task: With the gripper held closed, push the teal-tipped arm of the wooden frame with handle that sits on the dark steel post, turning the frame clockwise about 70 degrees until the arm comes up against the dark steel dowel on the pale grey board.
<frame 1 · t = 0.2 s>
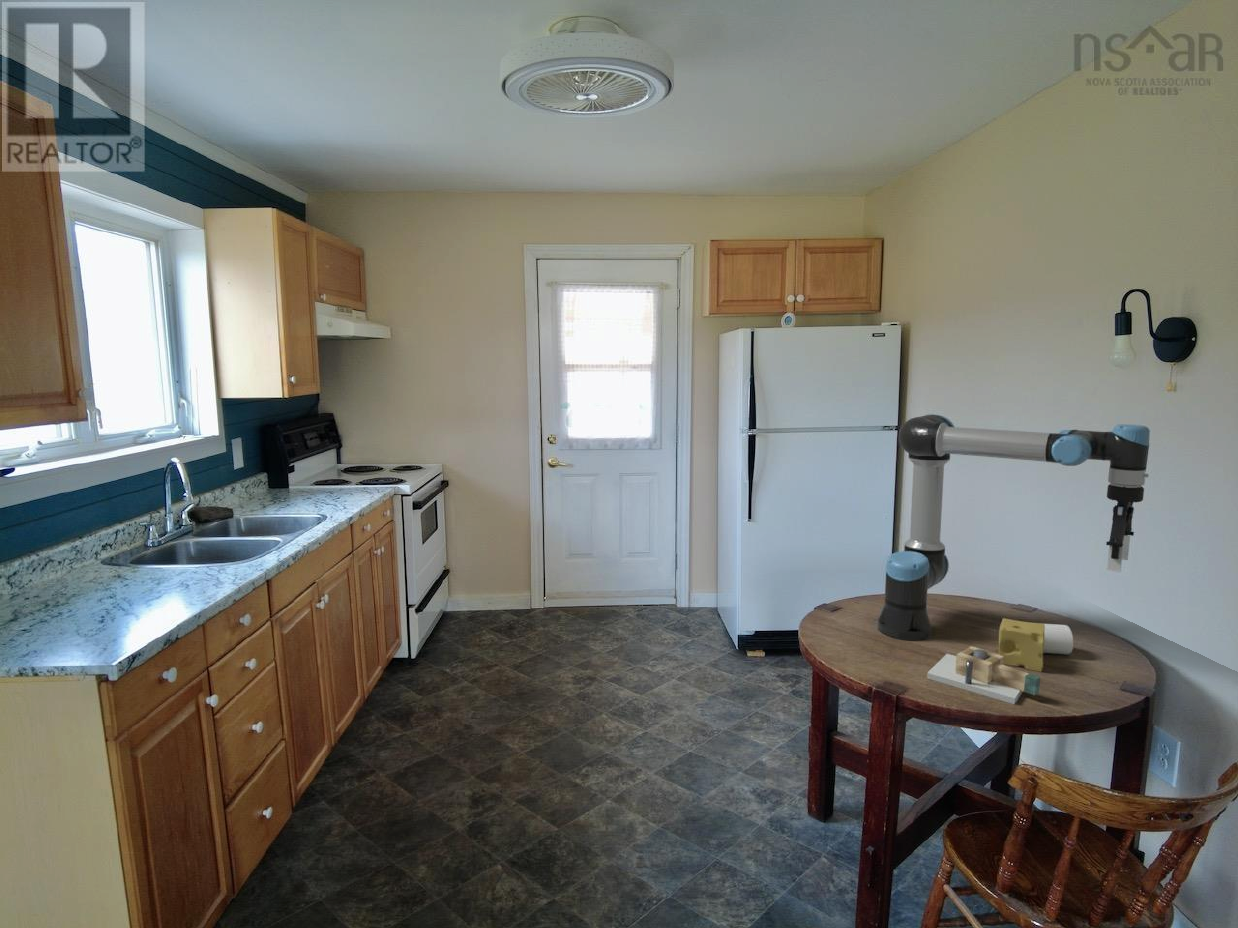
hand: (1117, 564, 176), 28 cm above the table, fingers open, 13 cm apart
dowel: (967, 688, 167), resting on base
wooden frame with handle: (999, 671, 168), point 4 cm above the table, hinge at 0.0°
mug: (1043, 649, 190), on the table
cheese: (1019, 661, 183), on the table
base: (978, 679, 172), on the table
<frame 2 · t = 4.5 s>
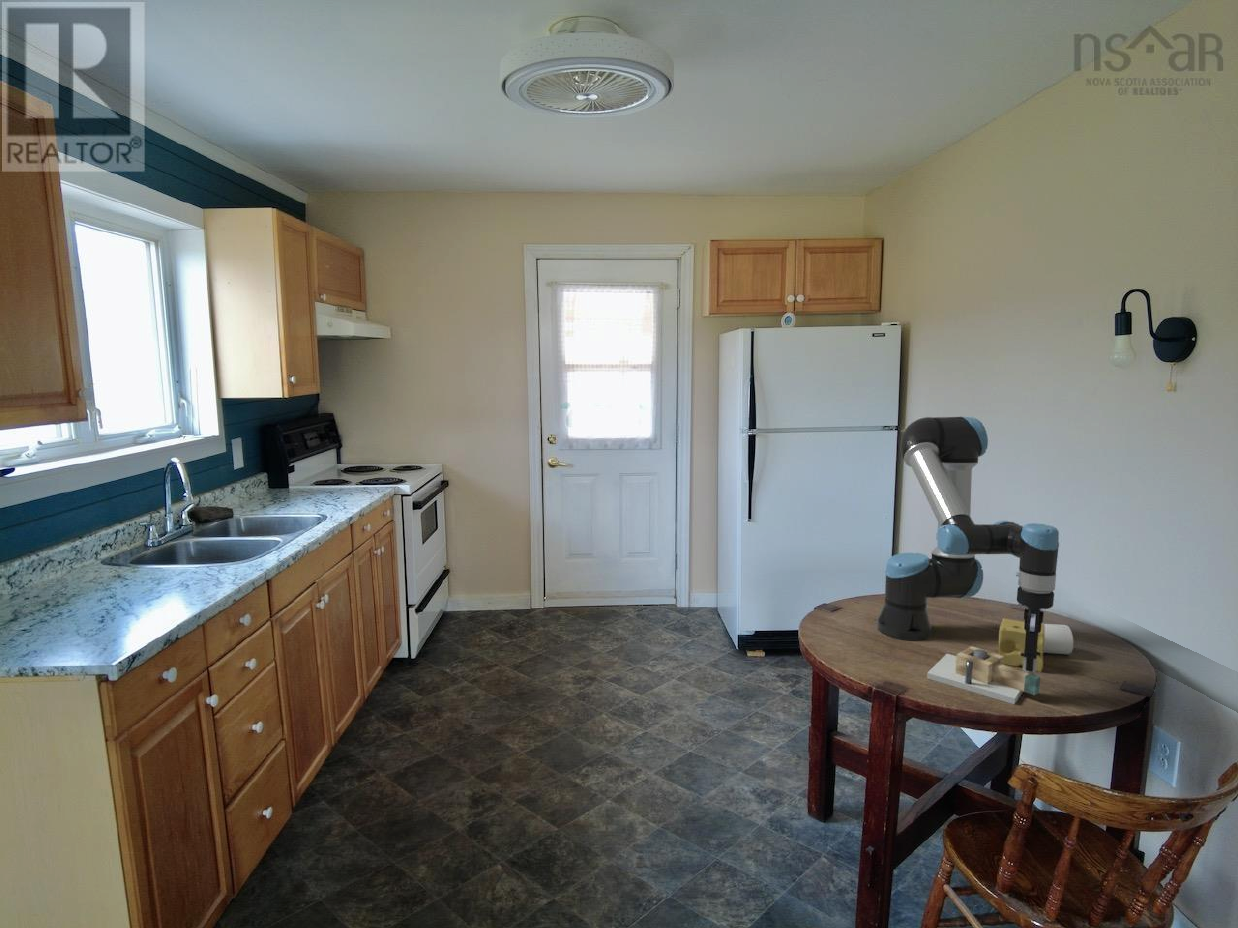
hand: (1028, 680, 164), 3 cm above the table, fingers closed
wooden frame with handle: (999, 671, 168), point 4 cm above the table, hinge at 0.0°, touching gripper
everything else where it was.
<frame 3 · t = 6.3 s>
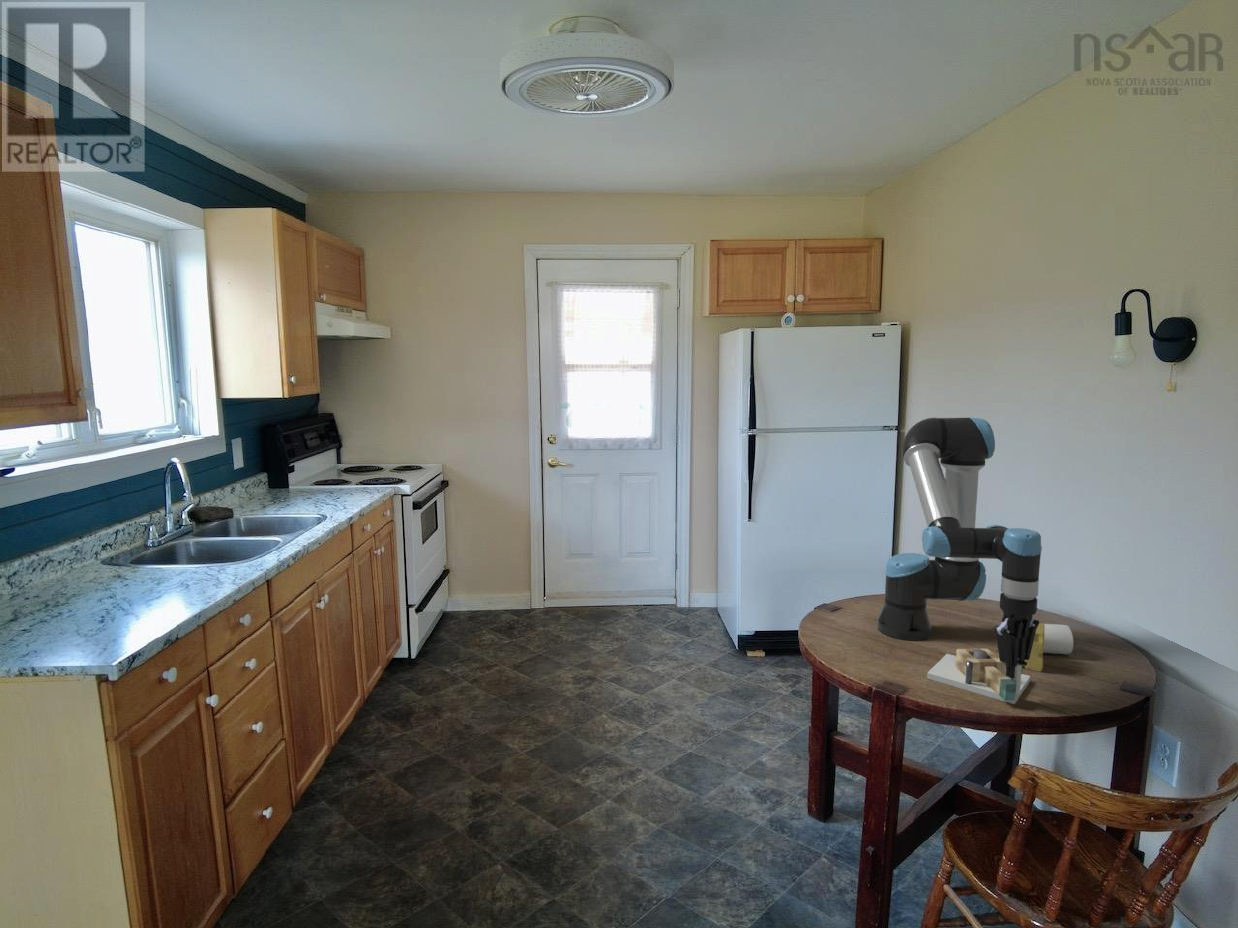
hand: (1012, 689, 161), 3 cm above the table, fingers closed
wooden frame with handle: (989, 673, 167), point 4 cm above the table, hinge at -36.6°, touching gripper
everything else where it was.
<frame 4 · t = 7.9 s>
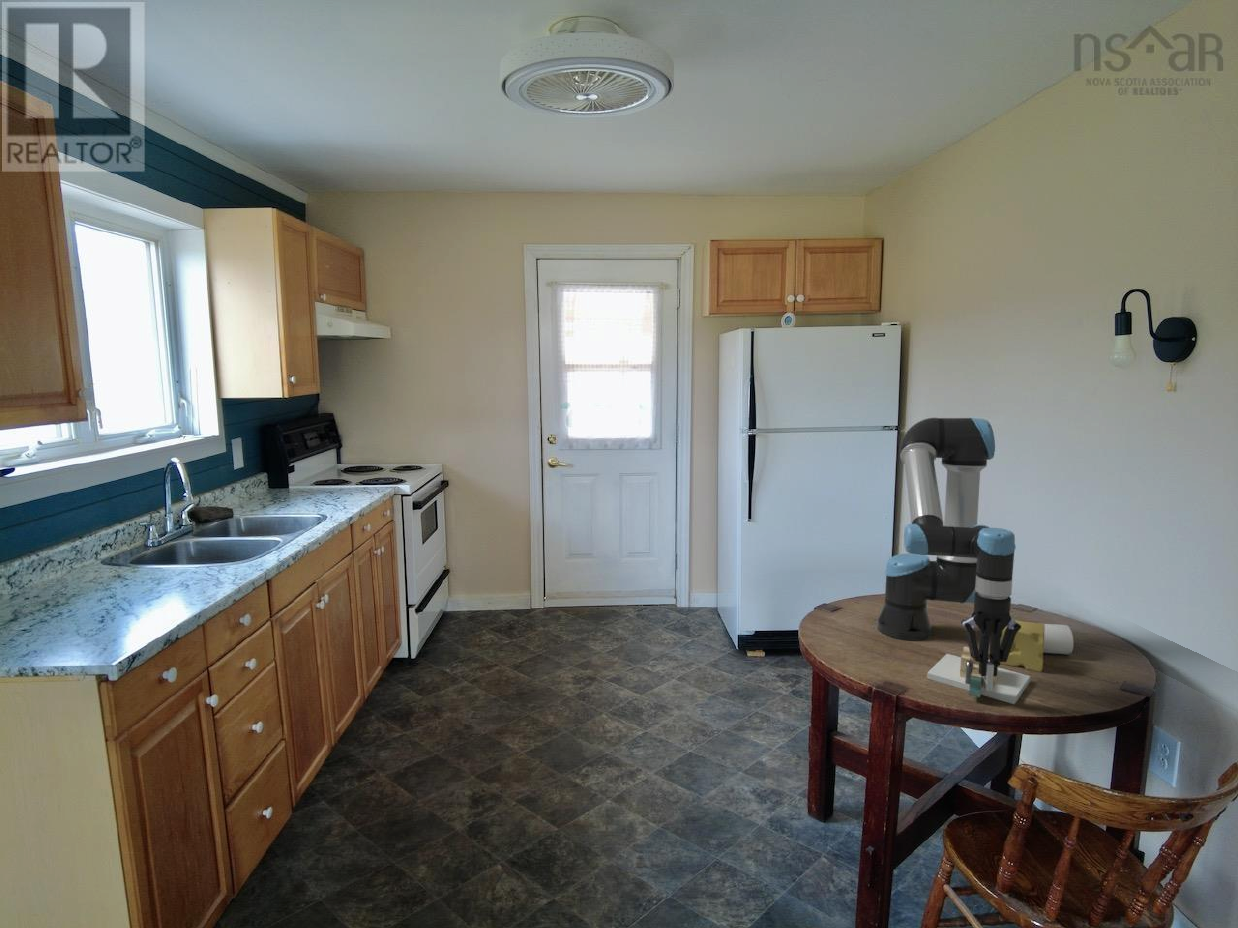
hand: (986, 687, 161), 3 cm above the table, fingers closed
wooden frame with handle: (978, 671, 167), point 4 cm above the table, hinge at -68.8°, touching gripper
everything else where it was.
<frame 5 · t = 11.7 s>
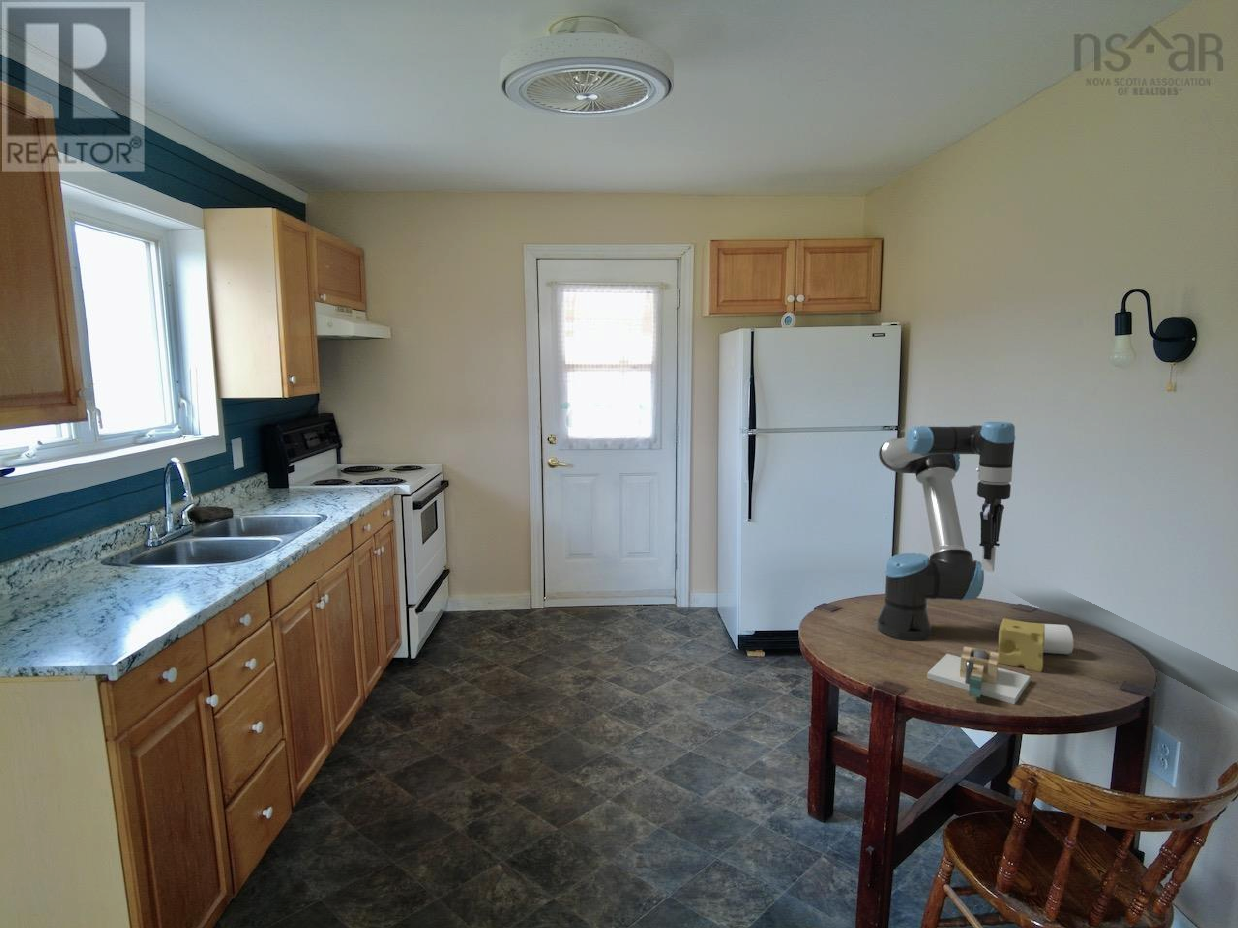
hand: (987, 570, 176), 26 cm above the table, fingers closed
wooden frame with handle: (977, 671, 167), point 4 cm above the table, hinge at -68.9°
everything else where it was.
at the end: wooden frame with handle at -69° (first picture: +0°); the gripper is holding nothing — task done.
